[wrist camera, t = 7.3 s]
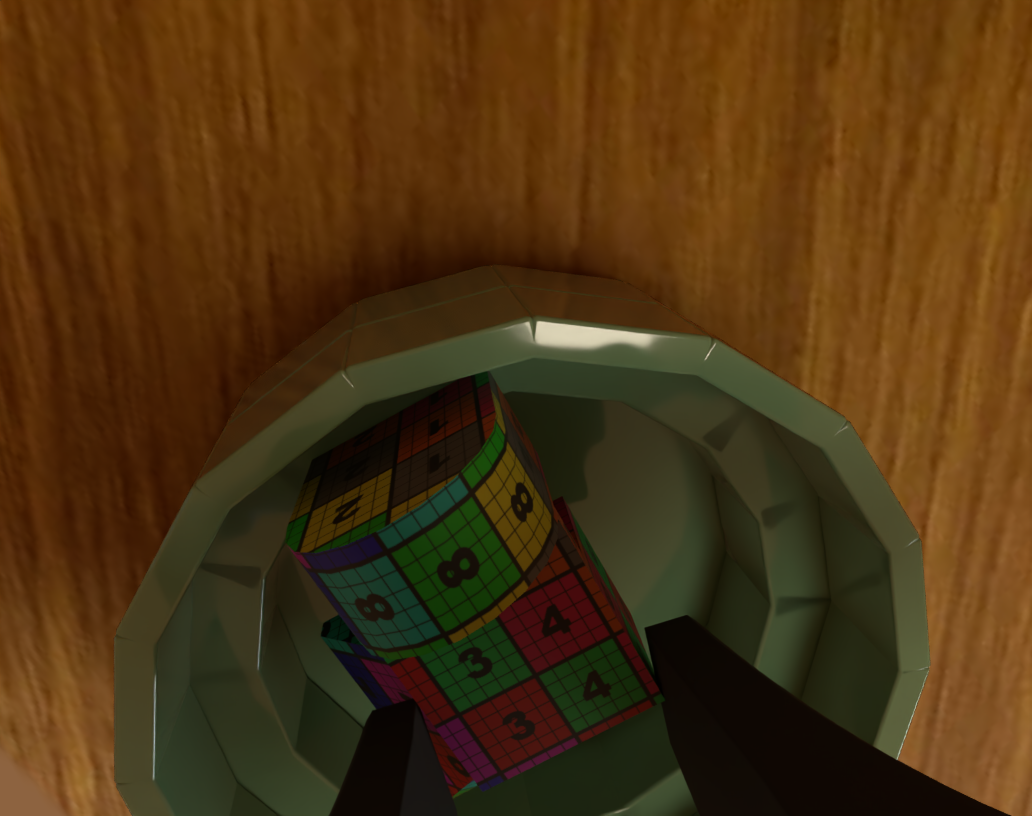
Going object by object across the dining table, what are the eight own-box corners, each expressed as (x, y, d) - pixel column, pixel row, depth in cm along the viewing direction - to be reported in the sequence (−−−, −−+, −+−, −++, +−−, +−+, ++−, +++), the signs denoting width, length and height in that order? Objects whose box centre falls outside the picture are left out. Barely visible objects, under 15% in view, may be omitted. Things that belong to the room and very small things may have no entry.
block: (232, 503, 11) (153, 651, 8) (485, 364, 11) (505, 462, 8) (447, 785, 13) (449, 993, 10) (666, 674, 13) (741, 853, 10)
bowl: (313, 857, 17) (288, 1102, 12) (89, 366, 13) (-57, 479, 9) (812, 700, 17) (947, 882, 13) (739, 188, 13) (898, 213, 9)
